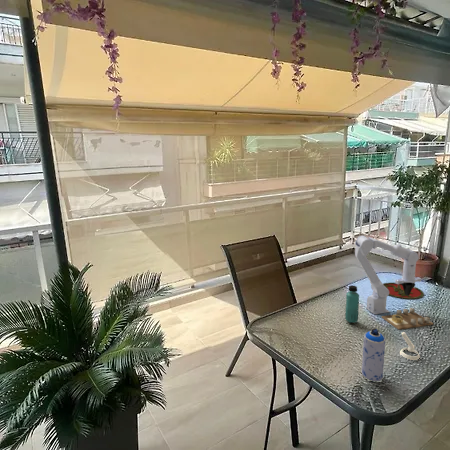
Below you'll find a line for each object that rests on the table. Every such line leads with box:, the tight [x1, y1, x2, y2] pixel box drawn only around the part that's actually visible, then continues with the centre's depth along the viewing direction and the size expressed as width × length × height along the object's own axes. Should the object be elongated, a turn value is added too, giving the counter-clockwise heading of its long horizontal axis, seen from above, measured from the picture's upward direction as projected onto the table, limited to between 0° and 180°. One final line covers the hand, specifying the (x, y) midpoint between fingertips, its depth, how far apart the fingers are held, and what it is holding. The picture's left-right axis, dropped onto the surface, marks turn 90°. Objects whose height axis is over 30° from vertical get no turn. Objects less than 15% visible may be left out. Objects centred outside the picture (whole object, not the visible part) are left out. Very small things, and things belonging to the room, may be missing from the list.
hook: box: [399, 331, 421, 361], centre depth 133 cm, size 8×12×7 cm
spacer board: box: [381, 307, 434, 330], centre depth 160 cm, size 20×13×3 cm, turn 101°
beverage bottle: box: [344, 285, 360, 323], centre depth 159 cm, size 6×7×20 cm
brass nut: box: [392, 314, 403, 323], centre depth 158 cm, size 5×4×2 cm
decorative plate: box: [382, 282, 425, 301], centre depth 196 cm, size 25×1×25 cm
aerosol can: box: [361, 328, 386, 381], centre depth 119 cm, size 8×8×20 cm
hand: (407, 294), depth 169 cm, fingers closed
